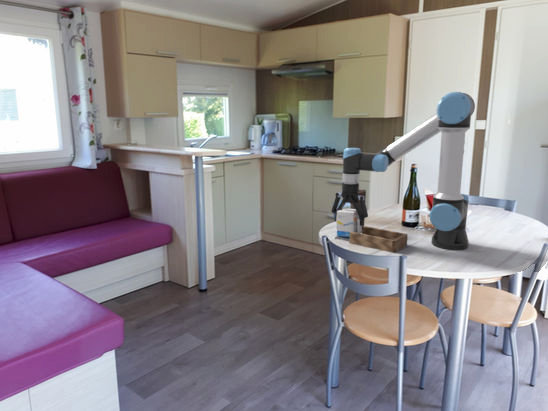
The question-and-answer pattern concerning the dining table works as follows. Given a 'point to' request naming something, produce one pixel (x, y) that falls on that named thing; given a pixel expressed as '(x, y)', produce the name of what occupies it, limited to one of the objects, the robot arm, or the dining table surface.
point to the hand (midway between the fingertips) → (348, 230)
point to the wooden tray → (379, 239)
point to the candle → (361, 193)
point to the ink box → (347, 222)
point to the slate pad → (343, 238)
